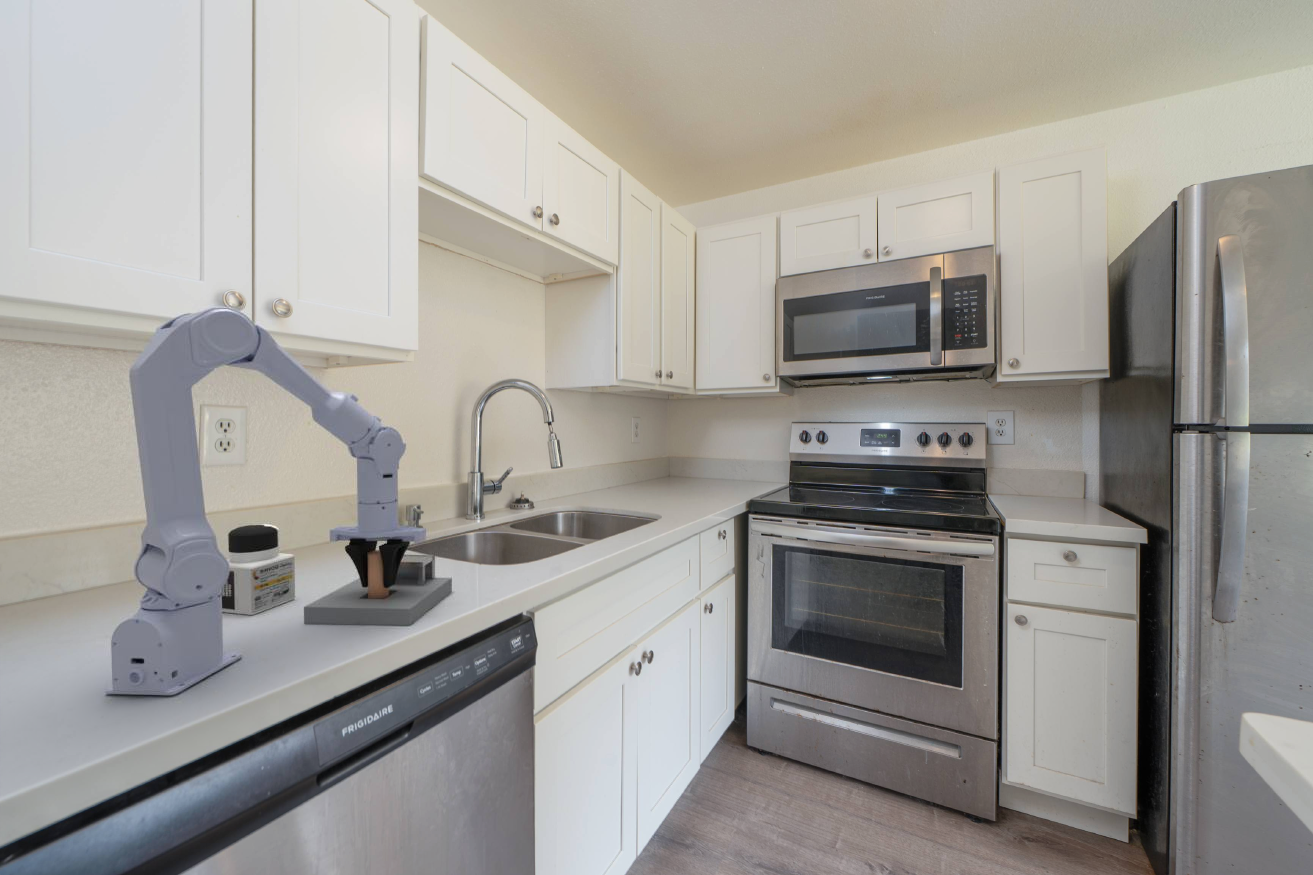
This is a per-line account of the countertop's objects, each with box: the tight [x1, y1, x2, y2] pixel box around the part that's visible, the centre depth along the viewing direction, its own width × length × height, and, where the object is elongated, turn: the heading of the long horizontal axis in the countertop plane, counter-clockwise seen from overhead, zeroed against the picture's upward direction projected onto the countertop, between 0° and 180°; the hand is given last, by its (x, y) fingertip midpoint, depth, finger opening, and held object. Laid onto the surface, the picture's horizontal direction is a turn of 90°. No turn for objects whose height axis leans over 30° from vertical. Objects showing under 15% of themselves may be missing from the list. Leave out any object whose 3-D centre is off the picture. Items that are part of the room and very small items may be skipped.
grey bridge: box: [396, 554, 436, 586], centre depth 90 cm, size 4×10×4 cm, turn 89°
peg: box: [367, 549, 389, 599], centre depth 83 cm, size 3×3×9 cm
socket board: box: [303, 577, 453, 626], centre depth 85 cm, size 15×16×2 cm
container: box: [222, 523, 296, 616], centre depth 85 cm, size 8×8×13 cm
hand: (378, 585), depth 83 cm, fingers closed on peg, 3 cm apart
